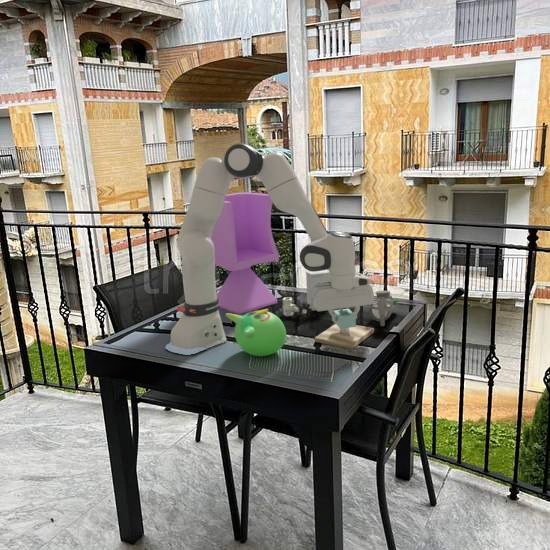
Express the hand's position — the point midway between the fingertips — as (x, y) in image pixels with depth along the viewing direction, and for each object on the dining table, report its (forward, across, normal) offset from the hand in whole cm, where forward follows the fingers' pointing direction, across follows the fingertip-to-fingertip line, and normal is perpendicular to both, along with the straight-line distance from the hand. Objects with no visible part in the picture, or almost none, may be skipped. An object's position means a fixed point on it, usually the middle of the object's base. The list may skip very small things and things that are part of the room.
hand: (344, 319), depth 181 cm
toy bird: (+6, -30, -4) cm, 31 cm away
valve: (+6, -12, +26) cm, 29 cm away
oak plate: (+6, 0, 0) cm, 6 cm away
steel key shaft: (+5, 0, 0) cm, 5 cm away
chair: (+6, -29, +49) cm, 57 cm away
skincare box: (+6, -1, +33) cm, 34 cm away
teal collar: (+2, 0, 0) cm, 2 cm away
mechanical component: (+6, +15, +5) cm, 17 cm away
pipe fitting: (+7, +20, +14) cm, 25 cm away
